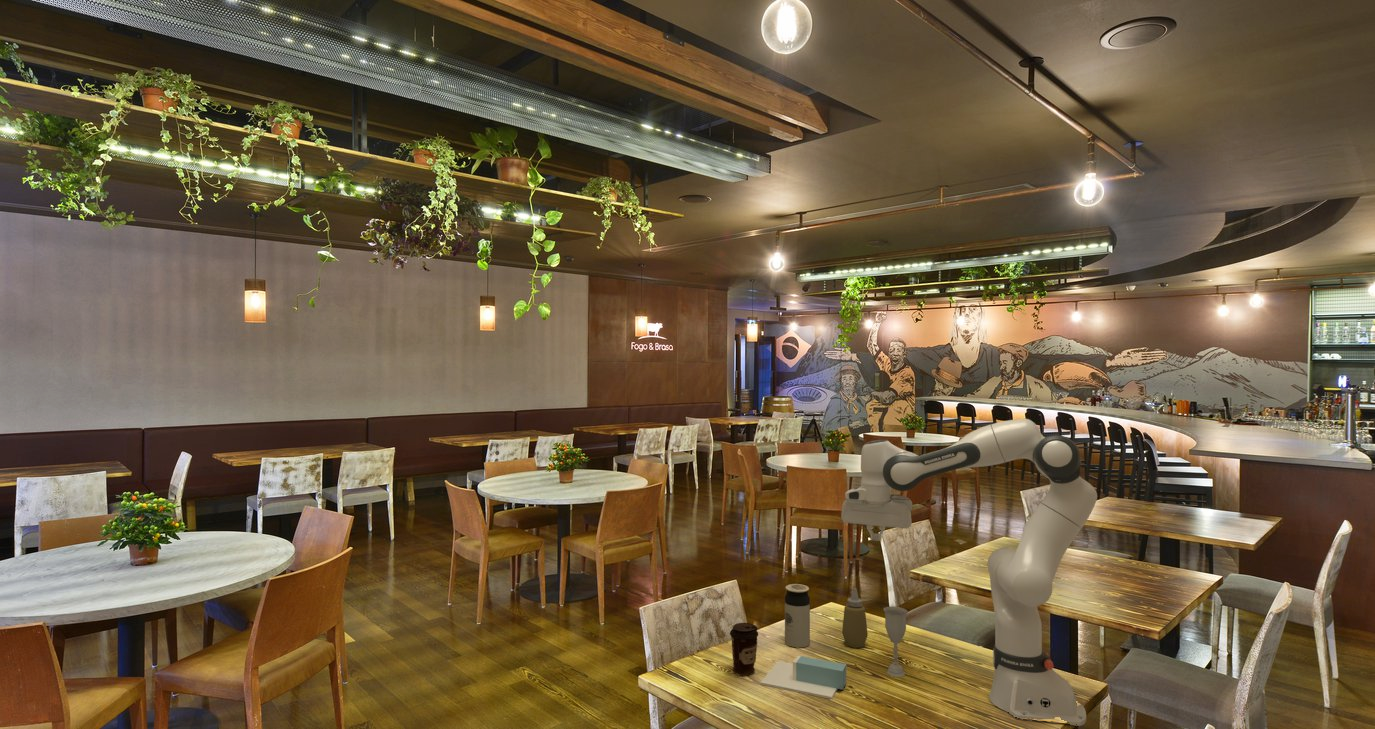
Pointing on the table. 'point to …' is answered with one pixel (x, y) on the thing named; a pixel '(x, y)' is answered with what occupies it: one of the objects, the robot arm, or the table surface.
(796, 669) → the long block
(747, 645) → the coffee cup
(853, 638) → the squeeze bottle
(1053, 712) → the robot arm
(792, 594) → the travel mug
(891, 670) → the chalice
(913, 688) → the table surface
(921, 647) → the table surface
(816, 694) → the mat
